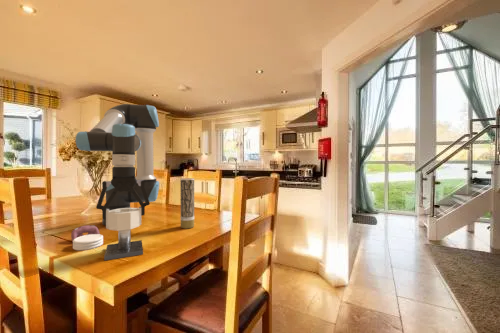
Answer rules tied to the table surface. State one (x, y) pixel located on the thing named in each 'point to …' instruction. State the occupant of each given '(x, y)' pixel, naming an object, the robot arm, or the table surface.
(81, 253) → the table surface
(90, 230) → the purple curved piece
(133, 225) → the ring
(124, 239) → the post stand
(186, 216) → the paper tube
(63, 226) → the table surface
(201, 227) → the table surface
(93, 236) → the coaster
